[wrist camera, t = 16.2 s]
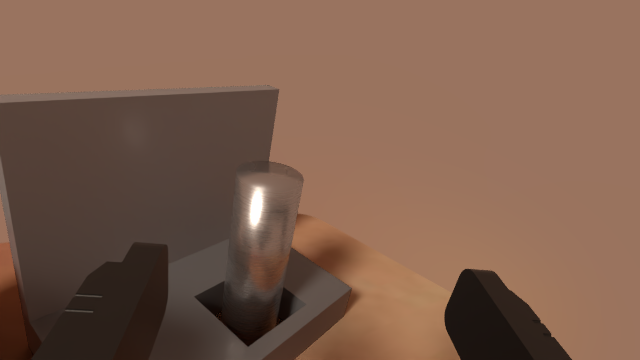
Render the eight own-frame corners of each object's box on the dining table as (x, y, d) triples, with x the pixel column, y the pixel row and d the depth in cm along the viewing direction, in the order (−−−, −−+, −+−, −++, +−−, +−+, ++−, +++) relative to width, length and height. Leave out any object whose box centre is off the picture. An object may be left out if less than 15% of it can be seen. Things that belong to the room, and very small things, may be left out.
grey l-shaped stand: (343, 316, 31) (396, 134, 24) (123, 506, 17) (109, 211, 11) (247, 245, 37) (268, 85, 31) (28, 346, 24) (-18, 95, 17)
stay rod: (285, 334, 28) (316, 180, 23) (244, 366, 25) (269, 197, 20) (249, 304, 30) (271, 156, 25) (207, 330, 27) (221, 168, 22)
